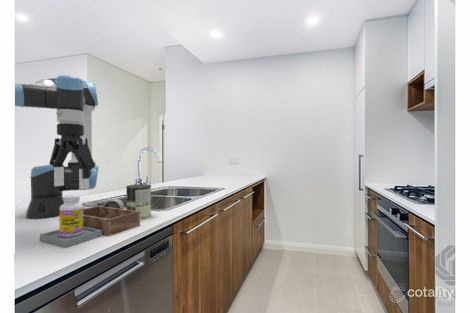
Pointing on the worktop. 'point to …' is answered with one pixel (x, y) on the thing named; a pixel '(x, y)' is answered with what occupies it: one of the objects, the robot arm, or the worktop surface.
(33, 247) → the worktop surface
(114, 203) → the ceramic mug
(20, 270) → the worktop surface
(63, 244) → the slate tray
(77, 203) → the supplement bottle
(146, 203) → the coffee can
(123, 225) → the walnut box
